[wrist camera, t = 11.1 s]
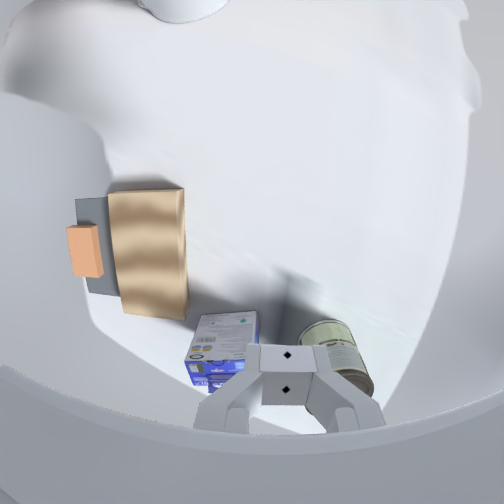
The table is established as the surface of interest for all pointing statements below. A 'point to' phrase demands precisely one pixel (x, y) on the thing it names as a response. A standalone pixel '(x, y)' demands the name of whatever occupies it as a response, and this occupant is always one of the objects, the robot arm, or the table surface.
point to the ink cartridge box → (220, 347)
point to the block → (85, 250)
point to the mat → (100, 243)
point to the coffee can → (339, 352)
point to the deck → (150, 251)
